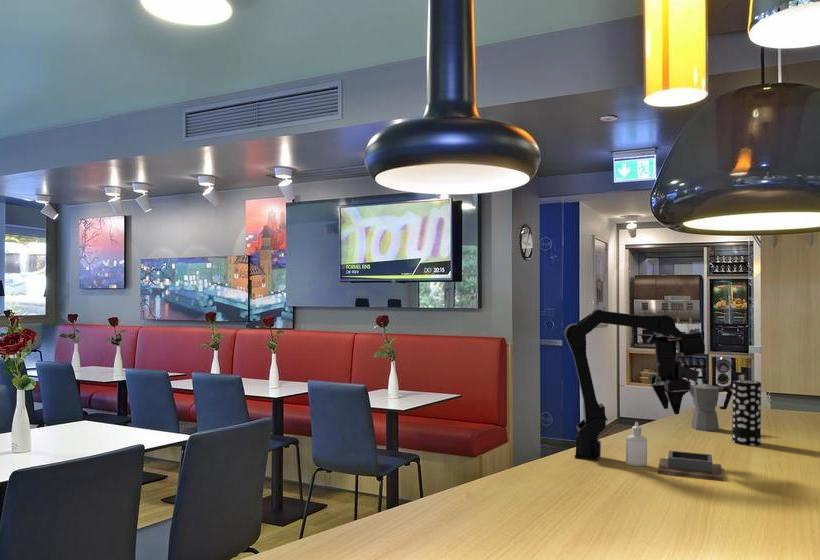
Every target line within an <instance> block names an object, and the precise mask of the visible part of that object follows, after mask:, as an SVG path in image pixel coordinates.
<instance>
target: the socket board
mask: <svg viewBox="0 0 820 560" xmlns="http://www.w3.org/2000/svg"><path fill="white" fill-rule="evenodd" d="M722 468H723V467H722V464H721V463H720V464H719V463H712V473H704V472H694V471H685V470H676V469H668V458H662V457H660V458H659V461H658V467H657V474H660V475H661V474H662V475H670V476H677V477H686V478H694V479H695V478H696V479H704V480H713V481H721V482H722V481H723V482H724V475H723V474H724V473H723V469H722Z"/></svg>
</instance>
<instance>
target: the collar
mask: <svg viewBox="0 0 820 560" xmlns="http://www.w3.org/2000/svg"><path fill="white" fill-rule="evenodd" d="M667 459H668V469H676V470H685V471H694V472H704V473H712V464H713V456H712V454H709V453H700V452H697V453H696V452H688V451H687V452H686V451H679V450H668V455H667Z"/></svg>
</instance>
